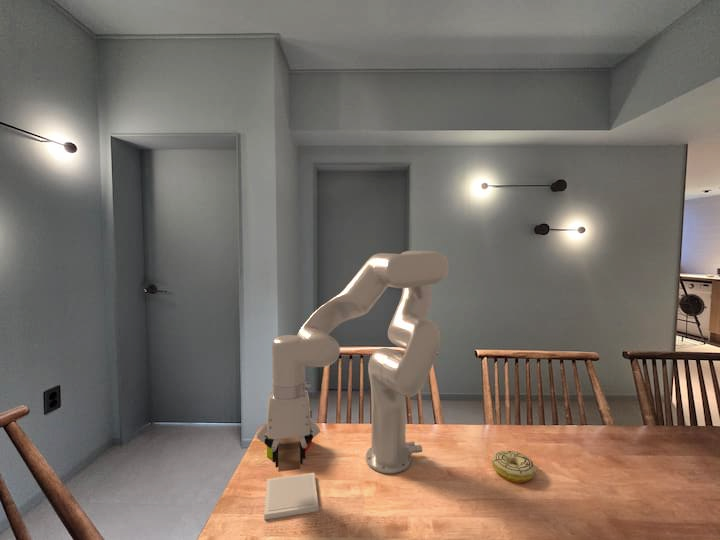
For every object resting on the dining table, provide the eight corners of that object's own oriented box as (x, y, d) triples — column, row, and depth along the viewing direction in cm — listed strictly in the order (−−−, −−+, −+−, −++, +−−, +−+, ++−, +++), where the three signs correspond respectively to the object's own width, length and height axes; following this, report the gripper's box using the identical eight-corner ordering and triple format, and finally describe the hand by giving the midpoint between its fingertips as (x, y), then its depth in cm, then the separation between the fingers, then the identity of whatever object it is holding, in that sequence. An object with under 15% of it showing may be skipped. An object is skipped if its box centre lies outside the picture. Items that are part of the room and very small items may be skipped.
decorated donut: (542, 473, 95) (543, 459, 94) (524, 492, 88) (525, 477, 87) (504, 455, 102) (504, 442, 102) (485, 471, 95) (485, 458, 95)
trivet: (314, 477, 93) (314, 472, 93) (318, 511, 81) (318, 505, 81) (267, 483, 91) (266, 478, 91) (264, 519, 79) (264, 514, 79)
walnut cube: (299, 456, 88) (299, 437, 88) (300, 468, 83) (300, 448, 83) (278, 458, 87) (278, 439, 87) (278, 471, 82) (278, 450, 82)
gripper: (323, 380, 89) (323, 449, 90) (252, 385, 86) (253, 457, 87) (326, 392, 82) (326, 468, 83) (249, 398, 78) (250, 477, 80)
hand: (289, 461), depth 85 cm, fingers closed on walnut cube, 5 cm apart
